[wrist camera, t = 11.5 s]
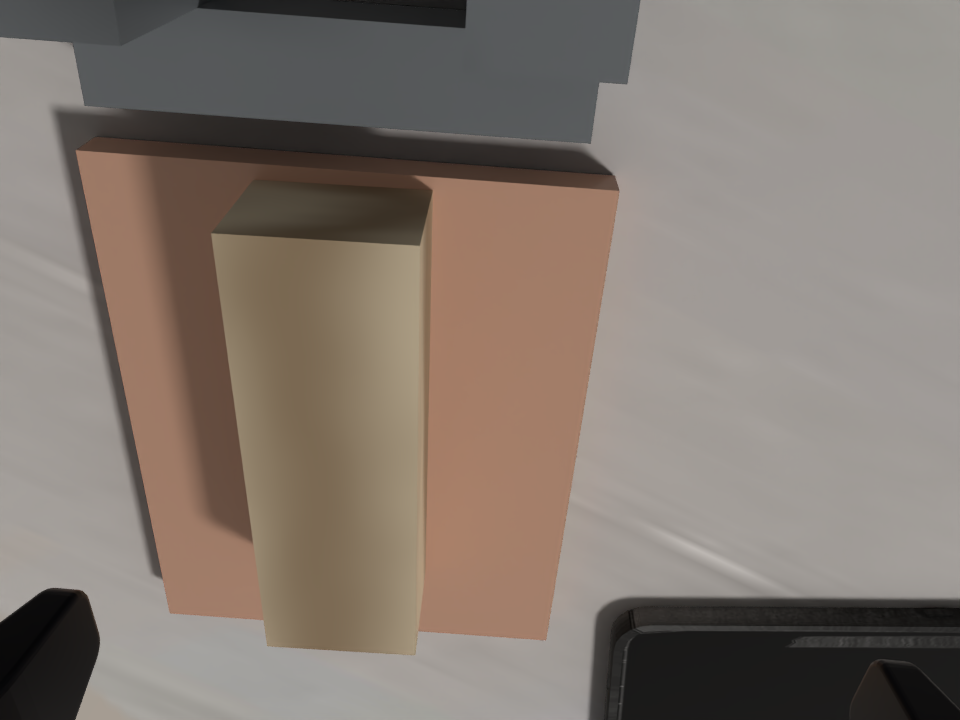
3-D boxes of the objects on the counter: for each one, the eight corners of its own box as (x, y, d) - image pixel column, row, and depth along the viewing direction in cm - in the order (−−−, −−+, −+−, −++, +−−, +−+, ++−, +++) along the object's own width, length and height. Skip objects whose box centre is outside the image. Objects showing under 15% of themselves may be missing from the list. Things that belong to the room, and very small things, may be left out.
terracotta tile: (615, 175, 19) (619, 191, 18) (545, 615, 27) (545, 640, 26) (95, 136, 19) (75, 150, 18) (180, 589, 27) (169, 613, 26)
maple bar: (432, 190, 18) (419, 245, 16) (425, 571, 24) (415, 655, 22) (253, 179, 18) (211, 232, 16) (292, 563, 24) (267, 646, 22)
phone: (1022, 773, 29) (603, 768, 30) (1006, 743, 30) (601, 740, 31) (1104, 625, 25) (616, 623, 26) (1082, 596, 26) (612, 595, 27)
